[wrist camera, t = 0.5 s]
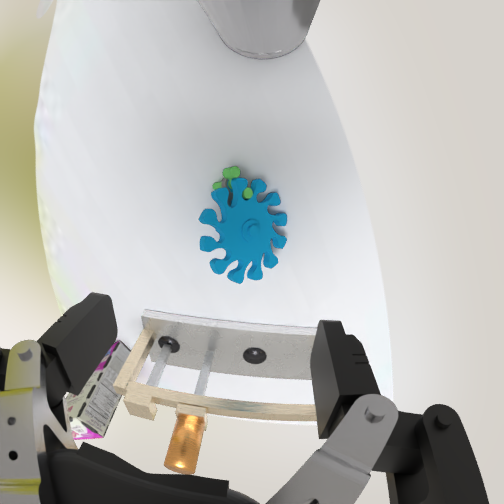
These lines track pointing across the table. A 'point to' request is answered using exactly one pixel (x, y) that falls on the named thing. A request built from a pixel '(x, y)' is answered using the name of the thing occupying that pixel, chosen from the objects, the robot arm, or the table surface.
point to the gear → (243, 226)
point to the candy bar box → (97, 397)
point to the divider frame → (216, 363)
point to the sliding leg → (189, 428)
